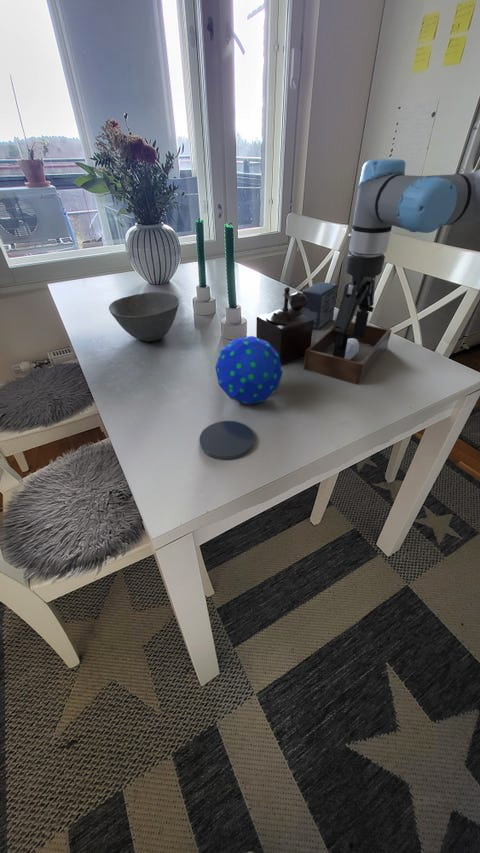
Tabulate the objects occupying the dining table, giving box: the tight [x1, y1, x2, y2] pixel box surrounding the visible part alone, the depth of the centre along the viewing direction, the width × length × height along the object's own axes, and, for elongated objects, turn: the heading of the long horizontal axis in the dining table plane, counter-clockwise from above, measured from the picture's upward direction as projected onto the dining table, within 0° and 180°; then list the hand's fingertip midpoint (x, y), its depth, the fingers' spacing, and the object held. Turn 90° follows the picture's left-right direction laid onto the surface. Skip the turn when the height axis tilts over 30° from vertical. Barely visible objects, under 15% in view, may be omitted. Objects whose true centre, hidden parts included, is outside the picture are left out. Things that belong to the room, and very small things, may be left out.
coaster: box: [198, 420, 255, 461], centre depth 63 cm, size 10×10×1 cm
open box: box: [303, 321, 392, 386], centre depth 85 cm, size 14×22×5 cm, turn 146°
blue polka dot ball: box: [215, 335, 283, 405], centre depth 72 cm, size 14×14×15 cm
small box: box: [302, 281, 338, 331], centre depth 102 cm, size 11×6×10 cm, turn 144°
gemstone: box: [344, 338, 360, 360], centre depth 86 cm, size 6×6×5 cm
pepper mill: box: [255, 286, 314, 365], centre depth 83 cm, size 16×11×18 cm
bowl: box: [108, 291, 180, 342], centre depth 96 cm, size 19×19×10 cm
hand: (348, 346), depth 85 cm, fingers open, 13 cm apart
